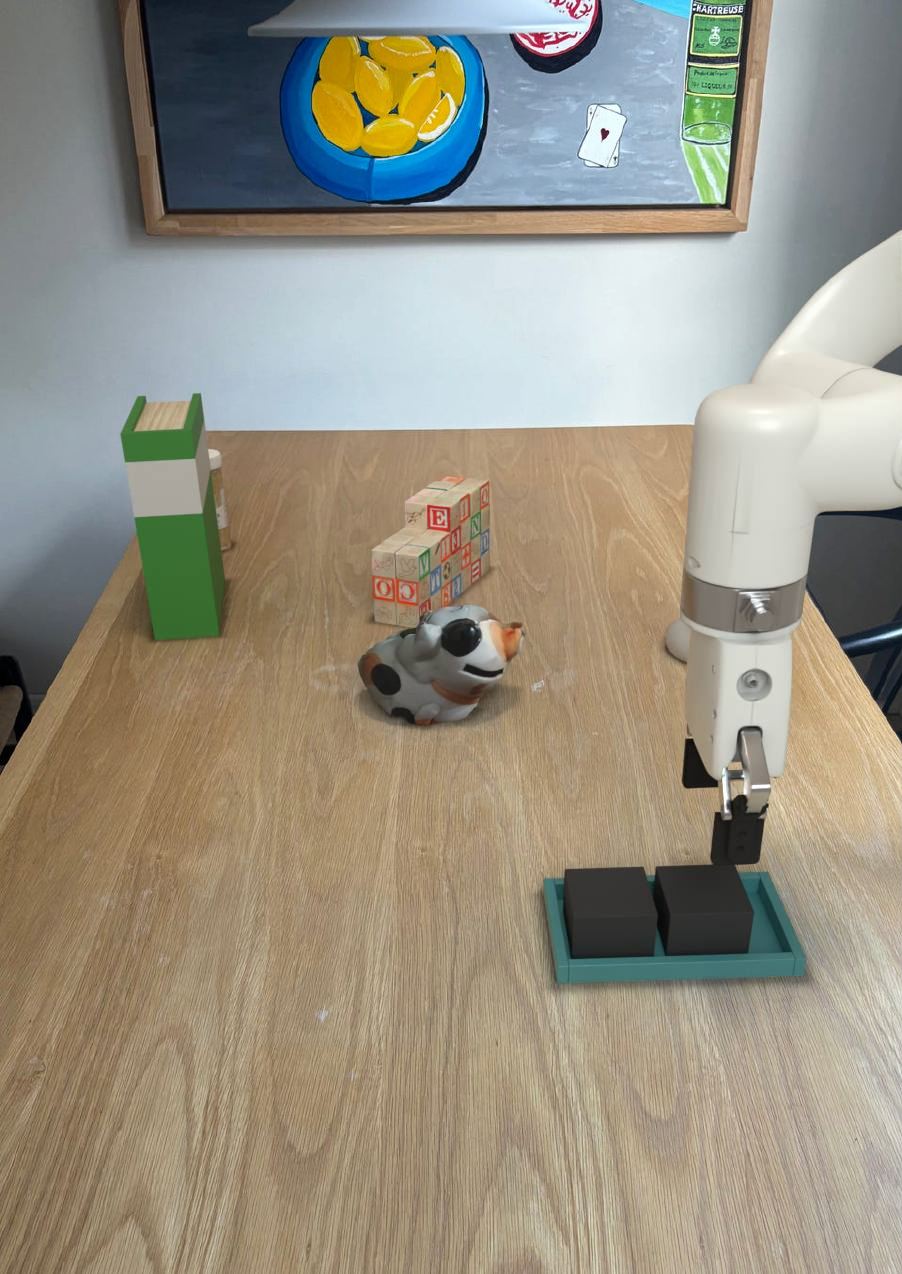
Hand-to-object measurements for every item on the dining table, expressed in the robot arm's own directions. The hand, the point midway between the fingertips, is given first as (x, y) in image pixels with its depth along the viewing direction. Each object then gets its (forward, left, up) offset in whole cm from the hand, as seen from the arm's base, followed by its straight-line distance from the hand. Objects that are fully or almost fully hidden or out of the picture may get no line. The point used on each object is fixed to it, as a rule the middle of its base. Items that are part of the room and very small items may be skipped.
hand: (718, 822), depth 81 cm
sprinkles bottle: (+50, -89, -10) cm, 102 cm away
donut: (-11, -50, -10) cm, 52 cm away
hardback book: (+49, -66, -10) cm, 83 cm away
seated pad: (+7, 0, -10) cm, 12 cm away
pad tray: (+3, 0, -10) cm, 11 cm away
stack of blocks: (+19, -69, -10) cm, 72 cm away
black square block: (+1, 0, -10) cm, 10 cm away
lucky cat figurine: (+19, -40, -10) cm, 45 cm away
